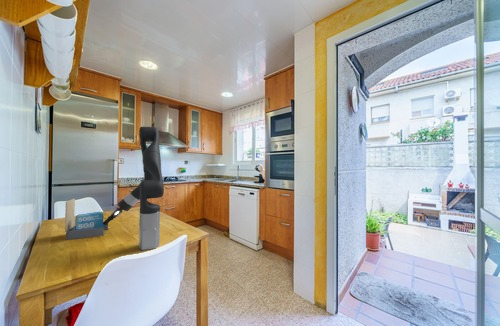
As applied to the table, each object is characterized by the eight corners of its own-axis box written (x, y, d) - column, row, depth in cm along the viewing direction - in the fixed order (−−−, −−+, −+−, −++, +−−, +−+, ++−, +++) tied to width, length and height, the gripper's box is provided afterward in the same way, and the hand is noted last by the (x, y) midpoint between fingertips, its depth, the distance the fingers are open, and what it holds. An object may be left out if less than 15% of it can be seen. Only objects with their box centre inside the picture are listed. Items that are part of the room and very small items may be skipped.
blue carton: (75, 238, 102) (76, 216, 102) (75, 235, 105) (75, 214, 105) (103, 232, 111) (103, 212, 111) (101, 230, 114) (102, 211, 114)
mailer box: (103, 235, 106) (104, 199, 107) (64, 240, 99) (65, 201, 99) (108, 229, 115) (108, 196, 116) (72, 233, 108) (73, 198, 108)
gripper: (125, 196, 121) (102, 217, 115) (121, 199, 109) (95, 223, 104) (135, 203, 123) (112, 224, 118) (132, 207, 111) (106, 231, 106)
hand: (104, 223), depth 111 cm, fingers closed
